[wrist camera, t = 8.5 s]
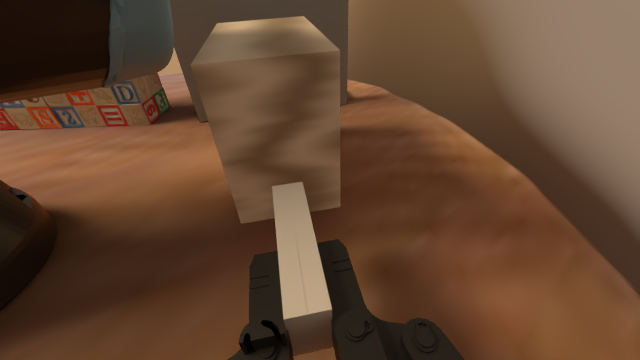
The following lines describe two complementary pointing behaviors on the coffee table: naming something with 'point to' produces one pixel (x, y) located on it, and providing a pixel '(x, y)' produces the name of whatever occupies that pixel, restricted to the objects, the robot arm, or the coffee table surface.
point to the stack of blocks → (90, 107)
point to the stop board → (244, 5)
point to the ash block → (273, 110)
